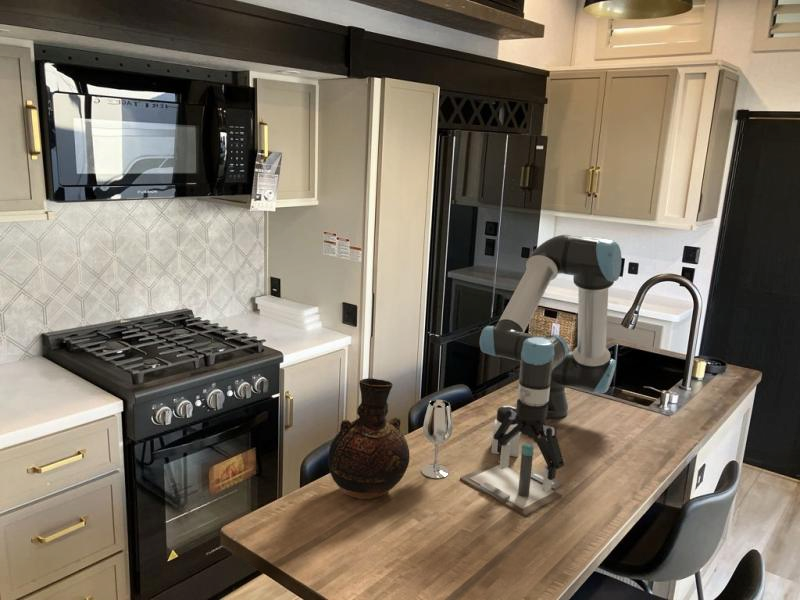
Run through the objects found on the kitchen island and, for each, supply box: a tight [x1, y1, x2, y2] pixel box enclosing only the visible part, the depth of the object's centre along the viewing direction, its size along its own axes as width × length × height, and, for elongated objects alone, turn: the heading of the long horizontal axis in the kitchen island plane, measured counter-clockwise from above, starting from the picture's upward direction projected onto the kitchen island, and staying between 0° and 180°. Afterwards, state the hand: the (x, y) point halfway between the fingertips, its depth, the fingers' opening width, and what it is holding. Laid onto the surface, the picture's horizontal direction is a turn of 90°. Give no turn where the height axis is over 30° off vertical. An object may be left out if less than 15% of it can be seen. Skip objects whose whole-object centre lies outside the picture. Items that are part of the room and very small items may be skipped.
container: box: [491, 405, 522, 458], centre depth 189 cm, size 8×8×13 cm
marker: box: [518, 443, 535, 497], centre depth 164 cm, size 3×3×13 cm
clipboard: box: [459, 461, 563, 518], centre depth 169 cm, size 15×22×2 cm
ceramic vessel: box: [327, 377, 410, 500], centre depth 161 cm, size 21×18×30 cm
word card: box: [531, 470, 563, 491], centre depth 174 cm, size 4×9×1 cm, turn 41°
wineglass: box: [420, 399, 453, 479], centre depth 174 cm, size 8×8×20 cm
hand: (524, 478), depth 164 cm, fingers open, 13 cm apart
